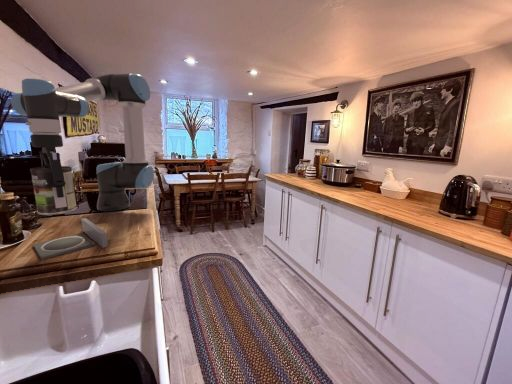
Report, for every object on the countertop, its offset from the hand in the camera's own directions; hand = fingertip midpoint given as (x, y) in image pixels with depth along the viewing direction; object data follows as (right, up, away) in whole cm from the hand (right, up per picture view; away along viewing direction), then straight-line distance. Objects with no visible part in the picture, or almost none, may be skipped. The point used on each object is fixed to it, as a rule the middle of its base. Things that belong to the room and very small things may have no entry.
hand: (57, 204), depth 81 cm
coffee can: (0, -2, 0) cm, 2 cm away
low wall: (+6, -13, +10) cm, 17 cm away
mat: (0, -14, +3) cm, 15 cm away
